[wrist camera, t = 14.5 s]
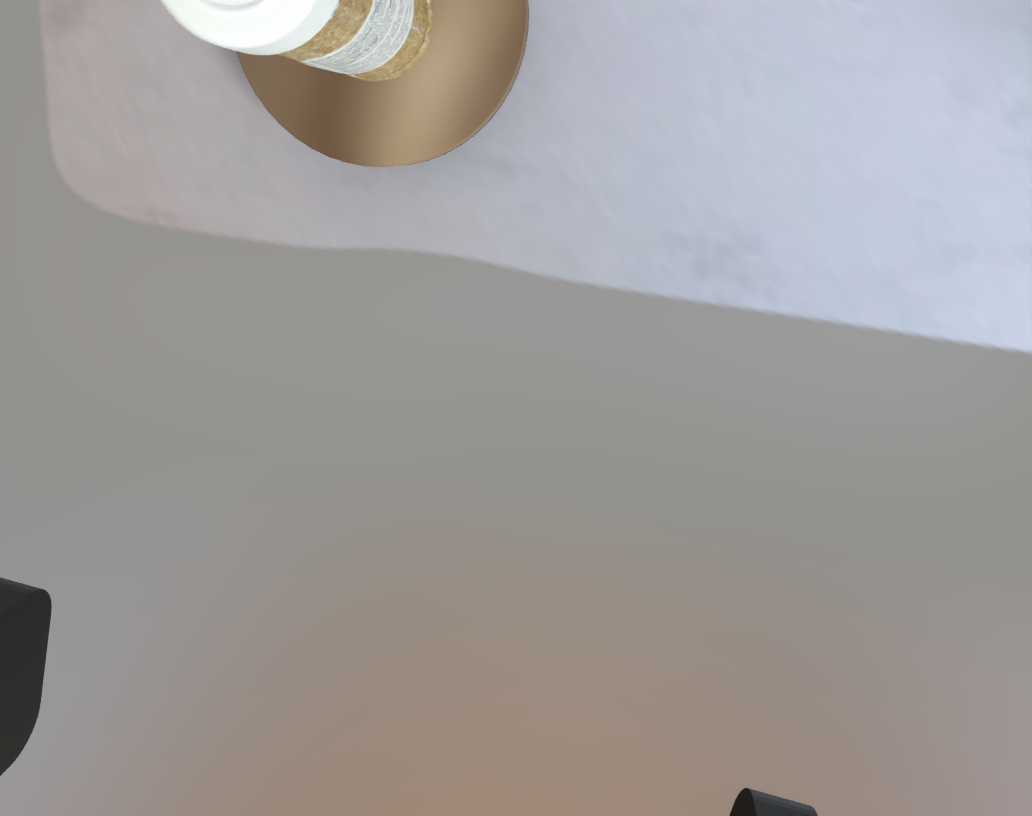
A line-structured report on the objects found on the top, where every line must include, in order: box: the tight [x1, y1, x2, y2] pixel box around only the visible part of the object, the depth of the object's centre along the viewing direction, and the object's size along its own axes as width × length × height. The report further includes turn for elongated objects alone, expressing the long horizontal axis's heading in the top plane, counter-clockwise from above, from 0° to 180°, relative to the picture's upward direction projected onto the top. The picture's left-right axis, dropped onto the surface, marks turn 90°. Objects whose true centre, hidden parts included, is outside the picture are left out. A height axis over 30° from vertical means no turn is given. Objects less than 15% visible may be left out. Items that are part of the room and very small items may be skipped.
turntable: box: [237, 0, 529, 167], centre depth 35 cm, size 11×11×2 cm
